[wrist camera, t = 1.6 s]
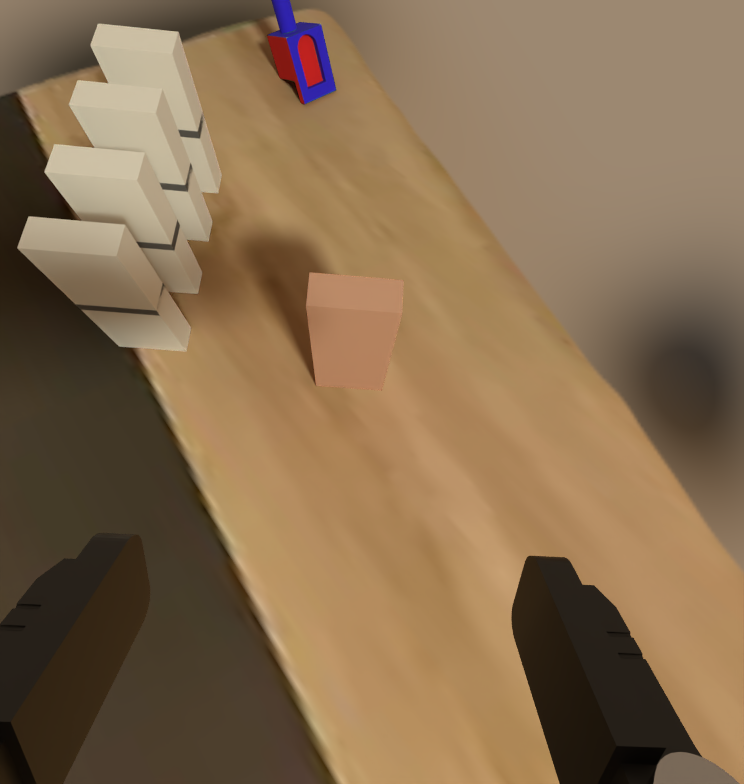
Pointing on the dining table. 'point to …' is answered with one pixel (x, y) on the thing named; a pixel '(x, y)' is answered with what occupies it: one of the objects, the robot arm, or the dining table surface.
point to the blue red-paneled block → (301, 54)
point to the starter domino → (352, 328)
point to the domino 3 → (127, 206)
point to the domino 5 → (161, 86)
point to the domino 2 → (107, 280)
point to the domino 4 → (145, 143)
